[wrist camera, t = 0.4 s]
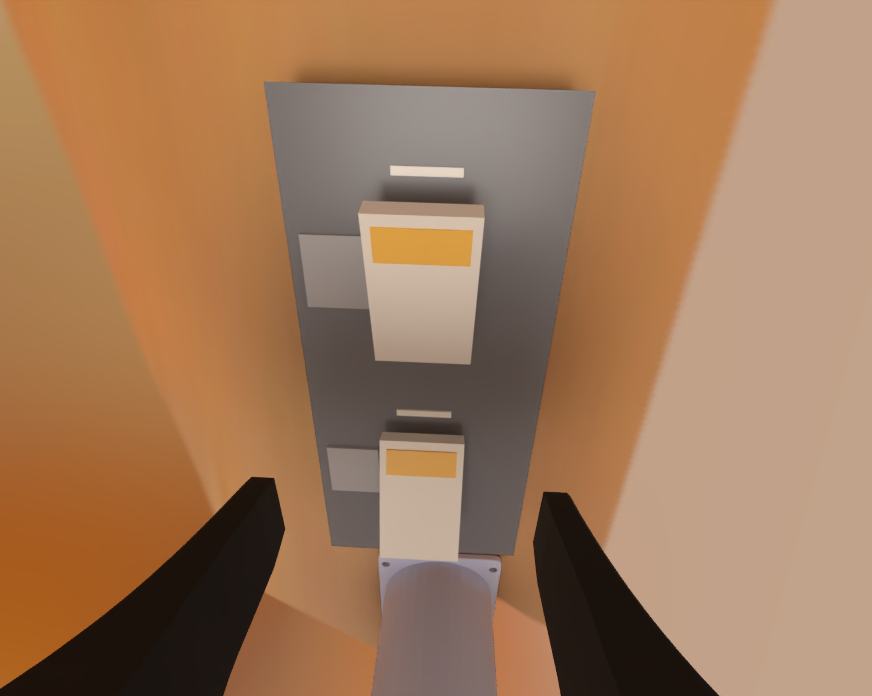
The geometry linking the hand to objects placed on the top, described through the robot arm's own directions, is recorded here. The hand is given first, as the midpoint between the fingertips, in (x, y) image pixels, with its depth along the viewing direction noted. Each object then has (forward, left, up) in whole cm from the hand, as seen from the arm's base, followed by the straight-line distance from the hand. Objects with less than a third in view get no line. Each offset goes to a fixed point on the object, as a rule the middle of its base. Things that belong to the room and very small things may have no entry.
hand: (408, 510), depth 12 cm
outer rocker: (+4, 0, -6) cm, 7 cm away
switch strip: (-1, 0, -10) cm, 10 cm away
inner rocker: (-6, 0, -6) cm, 8 cm away
